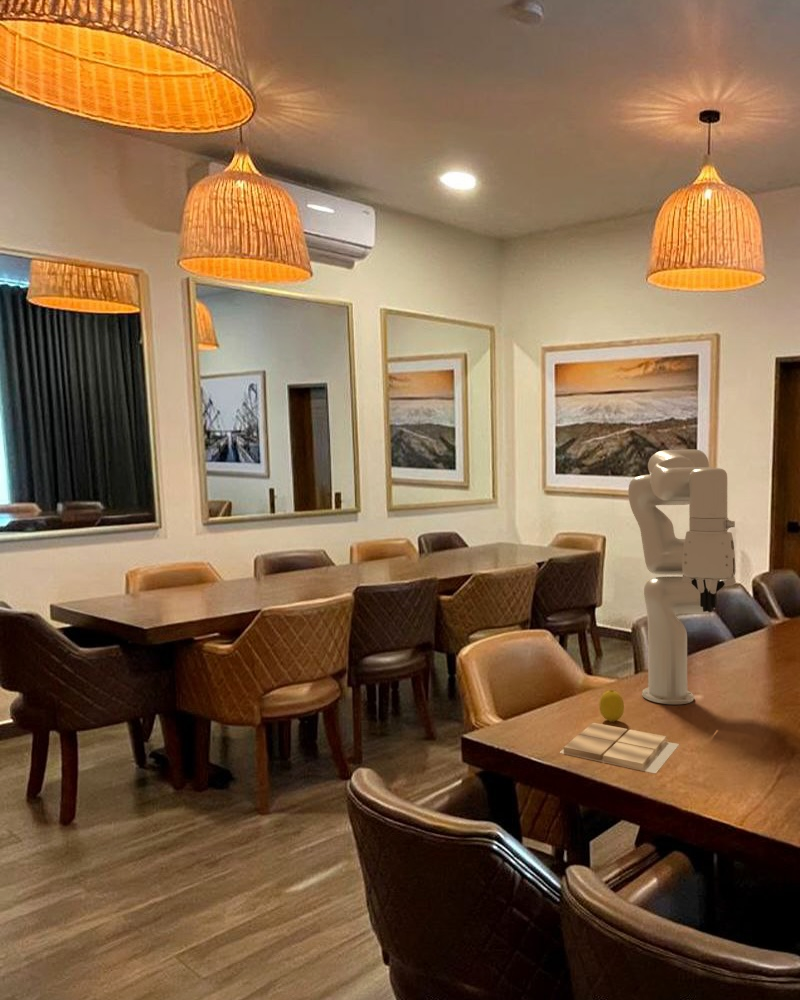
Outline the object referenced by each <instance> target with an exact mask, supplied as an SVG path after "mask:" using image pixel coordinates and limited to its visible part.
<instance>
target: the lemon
mask: <svg viewBox="0 0 800 1000" xmlns="http://www.w3.org/2000/svg"><path fill="white" fill-rule="evenodd" d="M624 704H625V703H624V700H623V697H622V696H621V695H620V693H618V692H617V691H615V690H614V689H612V688H611V689H609V690H607V691H604V692H603V694H601V696H600V700H599V704H598V705H599V711H600V714H601V716H602V717H603V718H604V719H605V720H607V721H609V723H614V722H616V721H618V720H620V719H621V718H622V717H623V714H624V710H625V705H624Z"/></svg>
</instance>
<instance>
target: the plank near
mask: <svg viewBox="0 0 800 1000" xmlns="http://www.w3.org/2000/svg"><path fill="white" fill-rule="evenodd" d="M654 756H655V750H654V749H649V748H644V747H639V746H634V745H628V744H623V743H618V742H616V743H615V744H614V745H613V746H612V747H611V748H610V749H609V750H608V751H607V752H606V753H605V754H604V755H603V761H605V762H610V763H614V764H619V765H624V766H628V767H633V768H638V769H642V770H643V769H644V767H645V766H646V765H647V764H648V763H649V762H650V760H651V759H652V758H653V757H654Z"/></svg>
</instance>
